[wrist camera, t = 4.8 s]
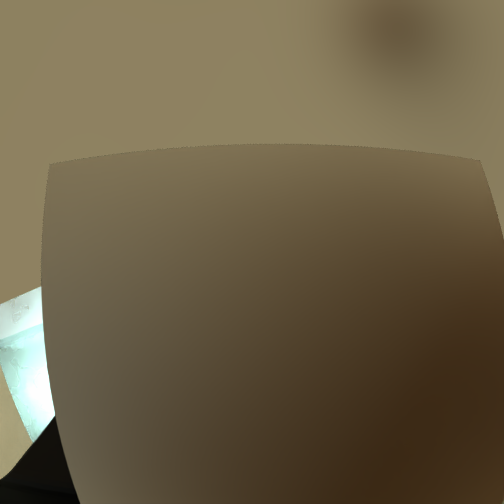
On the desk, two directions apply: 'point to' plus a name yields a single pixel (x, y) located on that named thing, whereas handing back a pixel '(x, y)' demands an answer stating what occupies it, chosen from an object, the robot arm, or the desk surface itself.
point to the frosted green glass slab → (26, 360)
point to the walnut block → (276, 326)
